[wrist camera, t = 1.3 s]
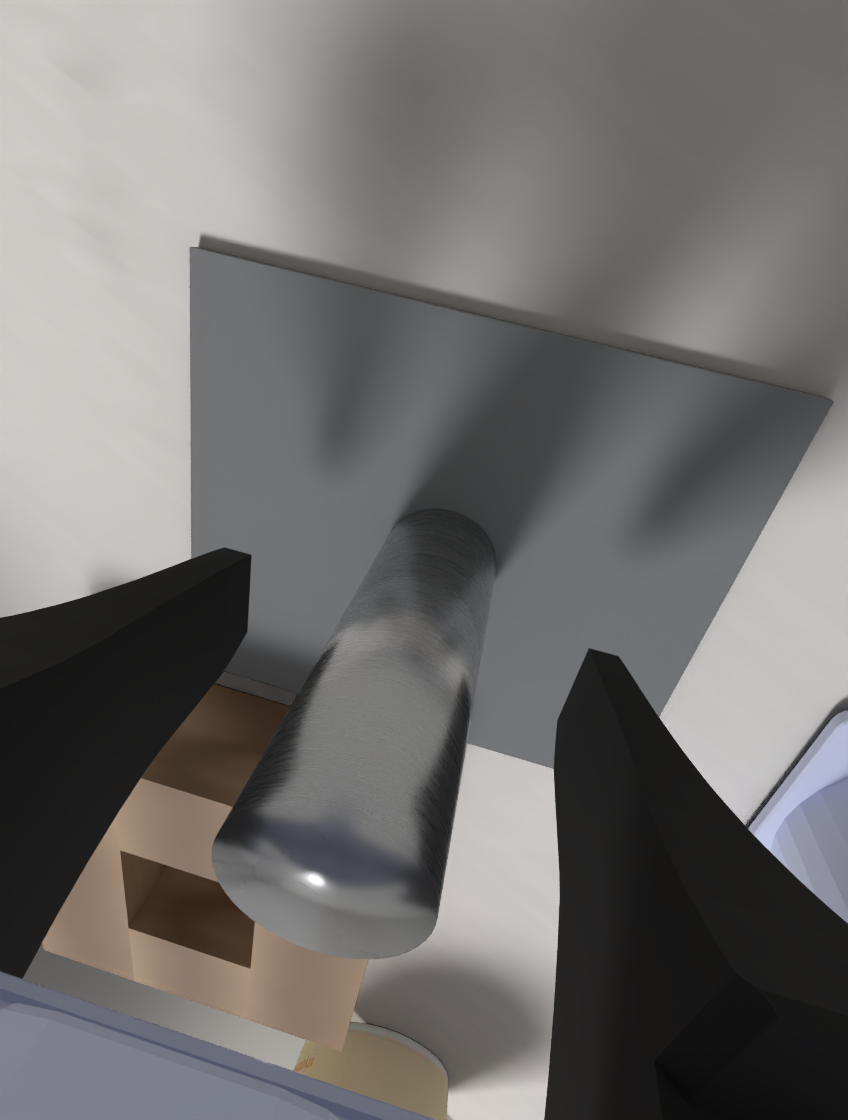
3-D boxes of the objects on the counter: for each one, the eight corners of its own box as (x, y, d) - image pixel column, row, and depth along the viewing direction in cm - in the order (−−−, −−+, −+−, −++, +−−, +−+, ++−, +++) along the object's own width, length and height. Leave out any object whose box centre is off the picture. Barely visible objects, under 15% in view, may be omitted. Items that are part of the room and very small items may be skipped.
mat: (827, 398, 12) (833, 401, 12) (618, 780, 18) (619, 788, 18) (197, 247, 13) (189, 247, 13) (196, 656, 19) (191, 661, 19)
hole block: (425, 747, 19) (397, 858, 15) (370, 939, 25) (341, 1051, 21) (87, 646, 20) (-13, 730, 16) (112, 855, 26) (43, 950, 22)
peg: (510, 526, 14) (463, 854, 6) (480, 622, 16) (413, 984, 8) (394, 495, 14) (212, 777, 7) (376, 592, 16) (210, 917, 8)
